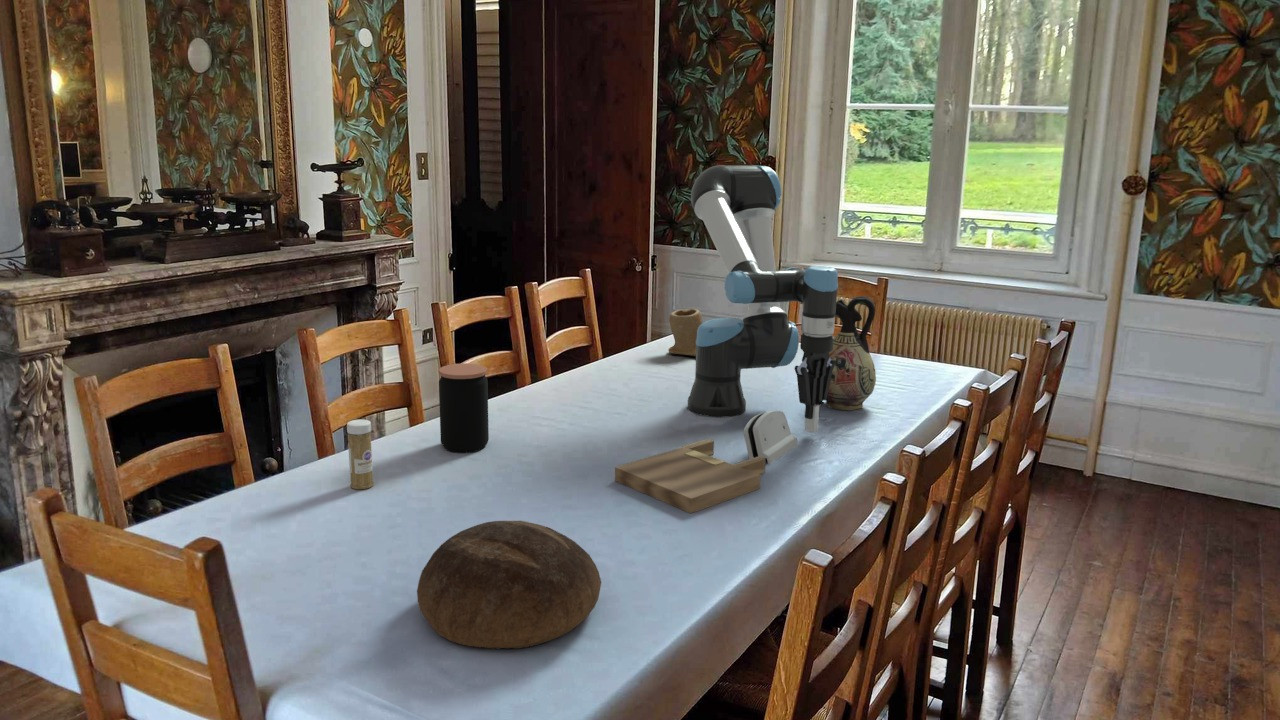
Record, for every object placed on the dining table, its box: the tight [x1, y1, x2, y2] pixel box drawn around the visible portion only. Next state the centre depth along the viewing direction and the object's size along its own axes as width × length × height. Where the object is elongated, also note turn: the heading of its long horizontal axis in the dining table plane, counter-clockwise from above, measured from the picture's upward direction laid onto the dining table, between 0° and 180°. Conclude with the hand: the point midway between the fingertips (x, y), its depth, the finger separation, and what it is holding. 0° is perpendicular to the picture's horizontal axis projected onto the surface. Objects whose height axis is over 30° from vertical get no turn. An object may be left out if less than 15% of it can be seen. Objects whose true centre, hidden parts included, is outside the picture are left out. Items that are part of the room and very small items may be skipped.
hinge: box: [743, 410, 800, 465], centre depth 216 cm, size 17×5×10 cm, turn 148°
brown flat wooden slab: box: [614, 438, 767, 514], centre depth 198 cm, size 22×28×3 cm
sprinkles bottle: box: [346, 419, 375, 490], centre depth 189 cm, size 5×5×13 cm
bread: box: [416, 520, 602, 649], centre depth 142 cm, size 26×27×13 cm
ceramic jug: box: [825, 296, 877, 411], centre depth 249 cm, size 17×15×30 cm
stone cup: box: [668, 308, 703, 357], centre depth 303 cm, size 15×12×15 cm
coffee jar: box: [438, 363, 490, 454], centre depth 214 cm, size 11×11×18 cm
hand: (811, 430), depth 226 cm, fingers closed
